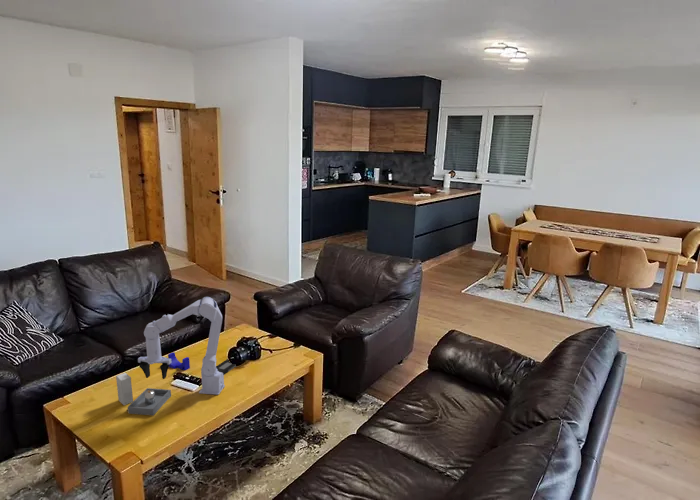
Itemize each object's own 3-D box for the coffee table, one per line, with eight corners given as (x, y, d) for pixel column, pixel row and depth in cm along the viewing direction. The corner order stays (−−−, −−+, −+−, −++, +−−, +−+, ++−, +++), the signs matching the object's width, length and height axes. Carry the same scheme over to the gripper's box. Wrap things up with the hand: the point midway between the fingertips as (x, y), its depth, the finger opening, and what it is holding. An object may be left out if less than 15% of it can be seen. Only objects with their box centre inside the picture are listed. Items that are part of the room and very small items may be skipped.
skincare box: (133, 401, 197) (131, 377, 194) (123, 405, 194) (120, 380, 191) (128, 396, 201) (125, 372, 198) (118, 400, 198) (115, 375, 195)
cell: (156, 400, 197) (155, 388, 196) (152, 405, 193) (151, 393, 192) (148, 399, 197) (147, 388, 196) (143, 404, 194) (142, 393, 192)
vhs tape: (240, 364, 233) (240, 361, 233) (222, 377, 220) (222, 373, 220) (228, 361, 236) (228, 358, 236) (210, 373, 223) (210, 370, 223)
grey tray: (171, 395, 202) (170, 389, 202) (153, 415, 188) (152, 409, 187) (147, 394, 203) (147, 388, 203) (128, 413, 189) (127, 407, 188)
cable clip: (166, 366, 229) (165, 355, 228) (173, 362, 233) (172, 352, 232) (182, 372, 224) (182, 361, 222) (189, 368, 228) (189, 357, 226)
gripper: (132, 352, 194) (135, 381, 197) (165, 354, 193) (167, 383, 196) (141, 345, 201) (144, 373, 204) (172, 347, 200) (175, 375, 203)
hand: (156, 377), depth 200 cm, fingers open, 7 cm apart
